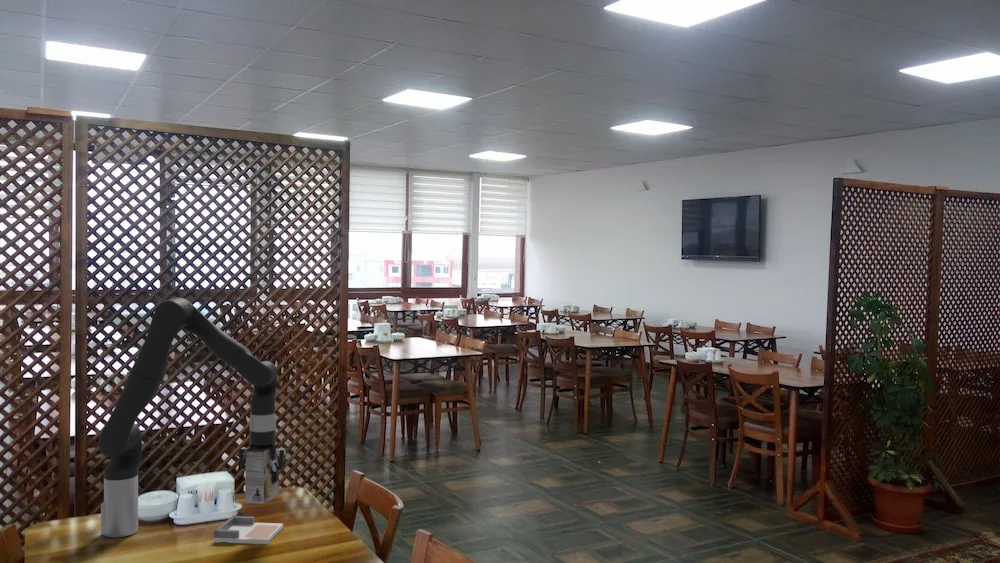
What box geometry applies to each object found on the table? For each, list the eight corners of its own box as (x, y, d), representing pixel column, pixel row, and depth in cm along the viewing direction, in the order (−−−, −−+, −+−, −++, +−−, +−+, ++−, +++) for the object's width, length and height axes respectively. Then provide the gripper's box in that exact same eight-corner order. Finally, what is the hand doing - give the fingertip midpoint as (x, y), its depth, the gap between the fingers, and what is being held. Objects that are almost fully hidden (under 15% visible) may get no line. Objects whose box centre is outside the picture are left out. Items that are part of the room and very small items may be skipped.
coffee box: (260, 493, 233) (260, 441, 233) (279, 495, 232) (279, 443, 232) (244, 502, 224) (244, 449, 224) (264, 504, 223) (264, 450, 223)
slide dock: (213, 542, 222) (213, 531, 222) (233, 525, 236) (233, 515, 236) (267, 544, 221) (267, 533, 221) (283, 527, 235) (283, 517, 235)
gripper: (234, 430, 224) (234, 485, 225) (281, 431, 223) (281, 487, 224) (244, 424, 232) (244, 478, 232) (290, 426, 231) (289, 479, 231)
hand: (262, 482), depth 228 cm, fingers closed on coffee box, 7 cm apart
